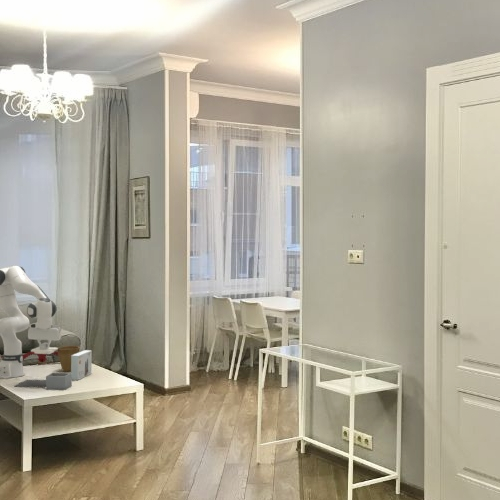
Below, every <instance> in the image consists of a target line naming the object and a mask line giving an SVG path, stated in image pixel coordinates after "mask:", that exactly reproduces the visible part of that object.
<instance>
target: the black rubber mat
mask: <svg viewBox="0 0 500 500" xmlns="http://www.w3.org/2000/svg"><path fill="white" fill-rule="evenodd" d="M13 387H14V388H46V379H25V380H23V381H20V383H17V384H15V385H13Z"/></svg>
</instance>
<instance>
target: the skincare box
mask: <svg viewBox="0 0 500 500" xmlns="http://www.w3.org/2000/svg"><path fill="white" fill-rule="evenodd" d="M92 356H93V353H92V350H89V349H86V350H85V349H84V350H82V351H79V353H76V354H74V355H71V372H70V373H72V381H78V380H81V379H83V378H85V377H88V376H90V375H92V364H93V363H92V358H93V357H92Z"/></svg>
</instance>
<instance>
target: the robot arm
mask: <svg viewBox="0 0 500 500" xmlns="http://www.w3.org/2000/svg"><path fill="white" fill-rule="evenodd" d="M16 292H17V293H18V294H22V295H29V296H32V297H35V299H37V301H33V302H31V303H29V304H28V305H27V308H26V313H27V315H28V316H29V317H30V319H37V320H36V322H33V323H30V319H29V318H28V316H26V315H24V313H23V312H22V311H21V309H20V307H19V305H18V301H17V296H16ZM57 310H58V308H57V305H56V303H55V302H54V301H53V300H51V299H50V298H49V296H47V294H46V293H45V292H44V290H42V288H41V287H40V286H39V285H37V284H36V283H35V282H33V281H32V280H31V279H30V278H29V277H28V275H27V274H26V270H25V269H24V267H23V266H19V265H11V266H7V267H3V268H0V311H1V312H4V314H6V316H7V317H2V318H0V337H1V340H2V342H3V351H4V352H3V355H1V356H0V359H1V360H0V379H11V378H18V377H22V376H25V375H26V373H25V371H24V366H23V365H24V364H23V361H24V360H23V355H24V354H23V349H22V348H23V343H22V341H21V340H20V339H19V338H18V337H17V333H21V332H24V331H27V330H28V332H27V338H28V340H34V341H35V340H36V341H37V343H38V347H40V344H42V342H41V341H47V343H48V344H46V347H51V346H50V344H51V343H52V341H60V340H61V339H62V335H61V334H62V333H61V330H62V328H61V326H60V325H58V324H57V325H55V324H53V318H52V317H53V316H54V315H56V314H57Z"/></svg>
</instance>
